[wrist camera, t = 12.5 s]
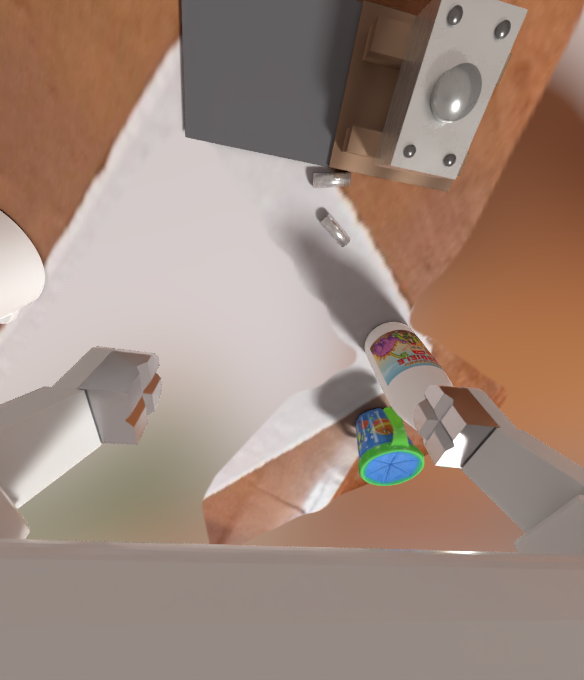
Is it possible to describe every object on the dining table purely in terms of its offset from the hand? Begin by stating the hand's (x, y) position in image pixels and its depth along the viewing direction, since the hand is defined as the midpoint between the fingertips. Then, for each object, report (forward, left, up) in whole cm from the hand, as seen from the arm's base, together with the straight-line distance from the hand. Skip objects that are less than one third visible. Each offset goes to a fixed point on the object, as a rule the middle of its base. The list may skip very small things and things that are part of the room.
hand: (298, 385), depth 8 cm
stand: (+11, +12, -29) cm, 33 cm away
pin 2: (+6, -1, -29) cm, 29 cm away
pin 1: (+5, +4, -29) cm, 30 cm away
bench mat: (-3, +12, -29) cm, 32 cm away
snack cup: (+23, -33, -29) cm, 50 cm away
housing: (+11, +12, -26) cm, 30 cm away
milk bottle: (+19, -15, -29) cm, 38 cm away
